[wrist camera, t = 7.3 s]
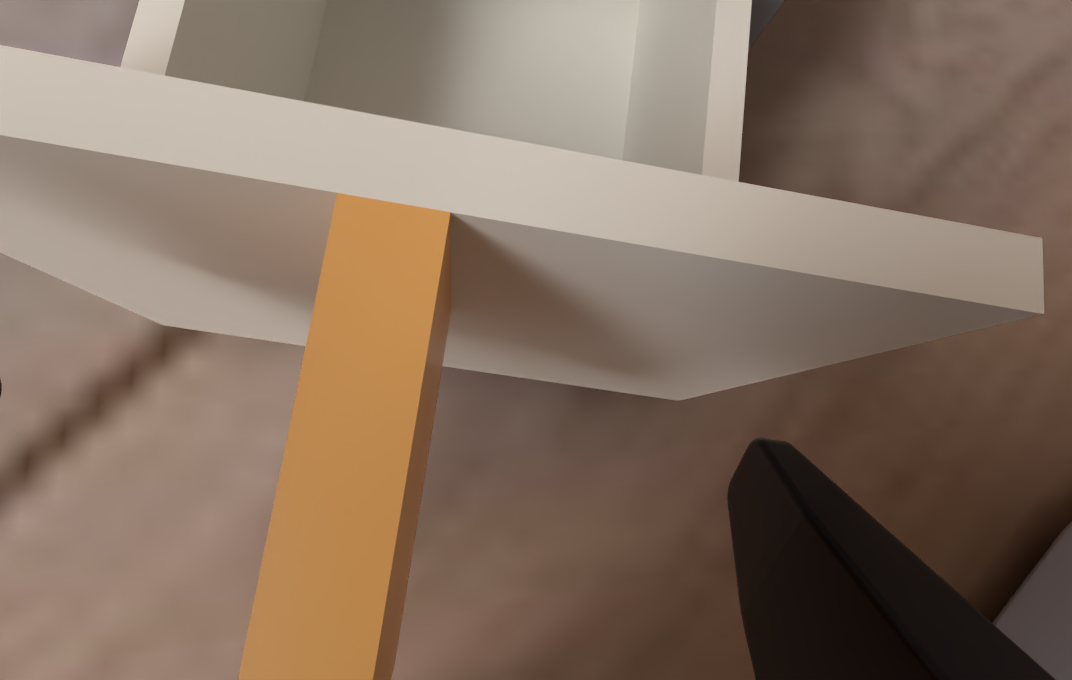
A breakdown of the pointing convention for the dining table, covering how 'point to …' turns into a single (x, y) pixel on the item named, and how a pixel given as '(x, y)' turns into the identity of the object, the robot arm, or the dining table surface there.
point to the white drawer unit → (453, 240)
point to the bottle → (1044, 610)
